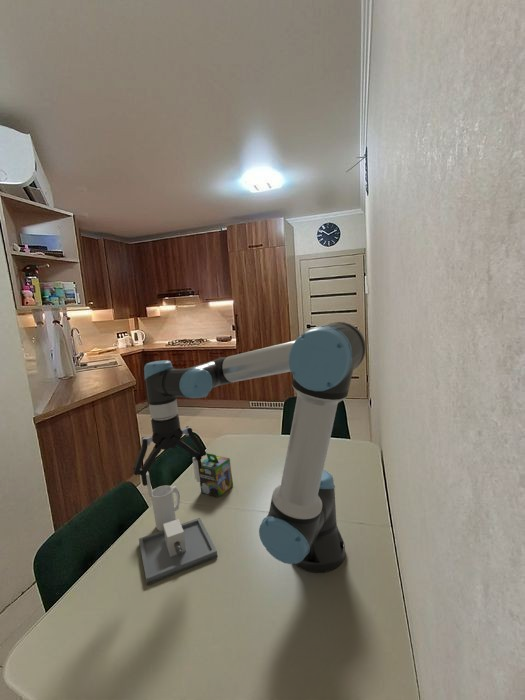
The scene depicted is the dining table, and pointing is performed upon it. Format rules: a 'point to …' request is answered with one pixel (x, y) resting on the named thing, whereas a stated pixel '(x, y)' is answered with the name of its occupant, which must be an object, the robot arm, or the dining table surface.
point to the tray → (164, 565)
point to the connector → (174, 538)
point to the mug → (164, 505)
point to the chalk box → (215, 475)
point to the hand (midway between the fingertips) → (174, 487)
